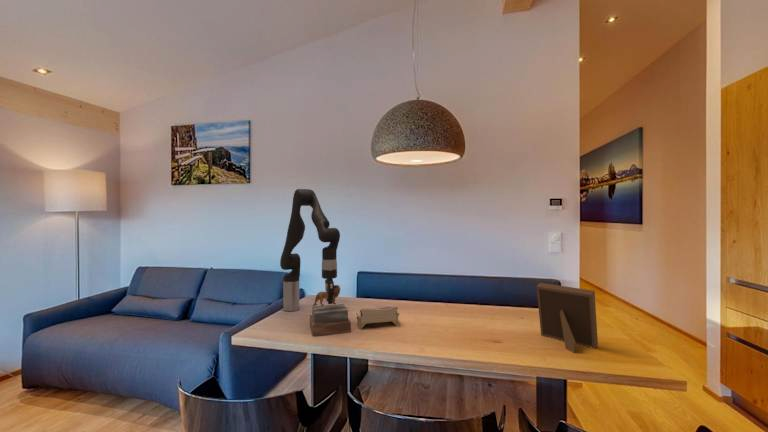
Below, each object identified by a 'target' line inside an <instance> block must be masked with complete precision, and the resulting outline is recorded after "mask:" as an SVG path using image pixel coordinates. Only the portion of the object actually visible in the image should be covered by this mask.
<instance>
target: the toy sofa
mask: <svg viewBox="0 0 768 432" xmlns="http://www.w3.org/2000/svg"><path fill="white" fill-rule="evenodd" d="M398 308H399V307H398V306H388V307H379V308H361V309H360V310H359V311H356V312H355V313H356V315H357V320H356V323H357V326H358V327H359V329H360V330H363V328H364V326H366V325H367V324H375V323H387V322H392V323H393V324H394V325H395V326H399V317H400V313H399V312H398Z"/></svg>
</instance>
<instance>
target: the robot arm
mask: <svg viewBox="0 0 768 432" xmlns="http://www.w3.org/2000/svg"><path fill="white" fill-rule="evenodd" d="M307 206H308V207H310V208H312V211H311V215H310V216H311V221H312V224H314V226H315V228H316V231H317V232H316V233H317V237H318V240H319V241H320V242H321V243H329V244H328V245H327V246H325V247H323V248H322V250H321V252H322V253H321V255H322V260H321V278H322V279H324V284H325V286H324V288H325V291H324V292H328V299H325V300H326V302H327V303H328V304H327V305H333V296H334V286H335V281H334V280H333V279H336V278H337V277H338V262H337V261H338V258H337V252H338V251H337V250H338V246H339V243H340V238H341V233H340V231H339V229H338V228H337V227H330V221H329V220H328V218H327V216H326V214H325V213H324V212H323V209H322V207H321V205H320V202H319V200H318V198H317V195H316V193H315V191H314V190H313V189H310V188H309V189H308V188H296V189H295V190H294V193H293V197H292V207H291V214H290V218H289V224H288V226H287V227H288V228H287V233H286V237H285V243H284V246H283V249H282V253H281V256H280V263H279V266H280V268H281V269H282V270H283V271H287V270H291V271H289V273H286V274H285V275H284V276H283V281H282V283H283V285H282V286H283V287H282V289H283V290H282V291H283V293H282V295H283V299H282V300H283V304H282V305H283V311H284V312H295V311H298V310H300V277H301V257H300V255H299V253H296V252H295V253H292V252H293V250H295V248H296V247H297V245H299V243H300V242H301V241H302V240H303V238H304V236H305V235H304V234H305V230H306V225H305V221H304V220H303V217H302V216H301V207H307ZM330 292H332V293H330Z"/></svg>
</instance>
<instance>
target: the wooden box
mask: <svg viewBox="0 0 768 432" xmlns="http://www.w3.org/2000/svg"><path fill="white" fill-rule="evenodd" d="M309 328H310V331H311V335H312V337H313V336H314V337H321V336H330V335H338V334H348V333H351V332H352V322H351V320H350V318H349V311H348V309H347V307H346V305H345V304H344V303H343V304H342V303H341V304H335V305H334V304H326V305H324V306H321V305H315V306H311V315H309Z"/></svg>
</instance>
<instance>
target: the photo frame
mask: <svg viewBox="0 0 768 432" xmlns="http://www.w3.org/2000/svg"><path fill="white" fill-rule="evenodd" d="M595 292H596V291H595V290H592V289H587V288H586V289H585V288H577V287H571V286H564V285H557V284H552V283H543V282H539V283H538V284H537V285H536V295H537V306H538V307H537V308H538V315H539V316H538V317H539V323H540V324H539V326H540V327H539V328H540V335H541V336H542V337H545V338H549V337H550V339H553V338H554V339H553V340H557V339H558V340H557V341H561V340H562V342H564V347H565V349H566V350H567V349H568V350H567V351H569V350H570V351H569V352H571V351H572V352H571V353H573V352H575V351H576V345H577V344H579V345H578V346H580V345H583V346H582V347H584V346H587V347H586V348H588V347H592V348H596V349H597V347H598V345H599V342H598V341H599V340H598V337H599V336H598V326H597V325H598V324H597V309H596V294H595ZM592 348H591V349H592Z"/></svg>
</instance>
